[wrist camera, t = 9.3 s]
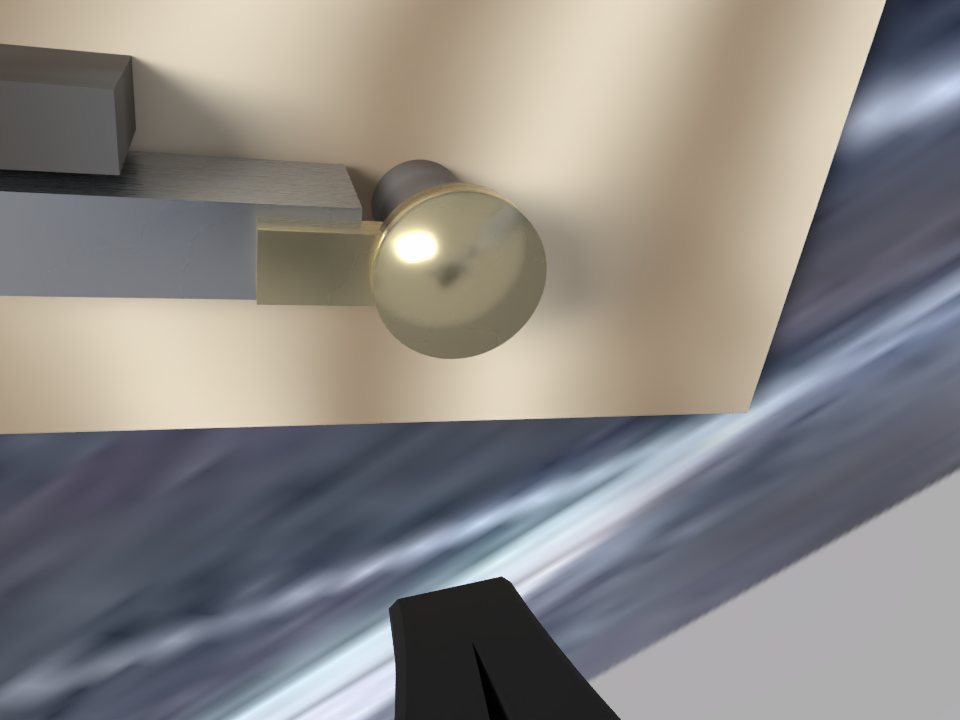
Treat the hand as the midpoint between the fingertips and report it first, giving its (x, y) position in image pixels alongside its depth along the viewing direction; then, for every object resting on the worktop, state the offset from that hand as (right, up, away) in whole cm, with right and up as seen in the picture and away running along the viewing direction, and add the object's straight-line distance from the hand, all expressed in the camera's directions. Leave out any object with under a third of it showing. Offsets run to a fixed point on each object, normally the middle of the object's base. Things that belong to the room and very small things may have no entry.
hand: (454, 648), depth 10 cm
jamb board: (-1, +8, +6) cm, 10 cm away
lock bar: (-4, +6, +5) cm, 9 cm away
